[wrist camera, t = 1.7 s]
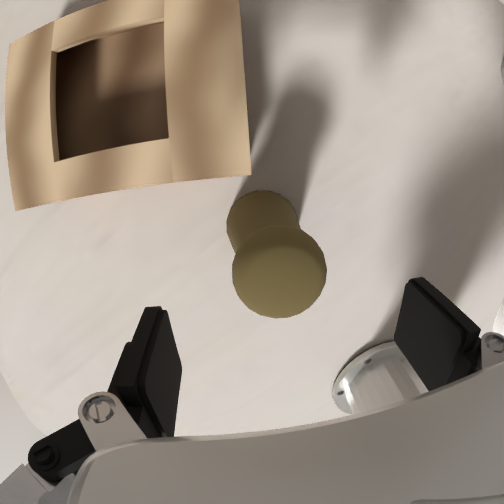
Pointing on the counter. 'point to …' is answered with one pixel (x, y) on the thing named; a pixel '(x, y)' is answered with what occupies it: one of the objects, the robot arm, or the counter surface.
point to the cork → (273, 256)
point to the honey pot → (499, 320)
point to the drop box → (126, 99)
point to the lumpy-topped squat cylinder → (502, 70)
